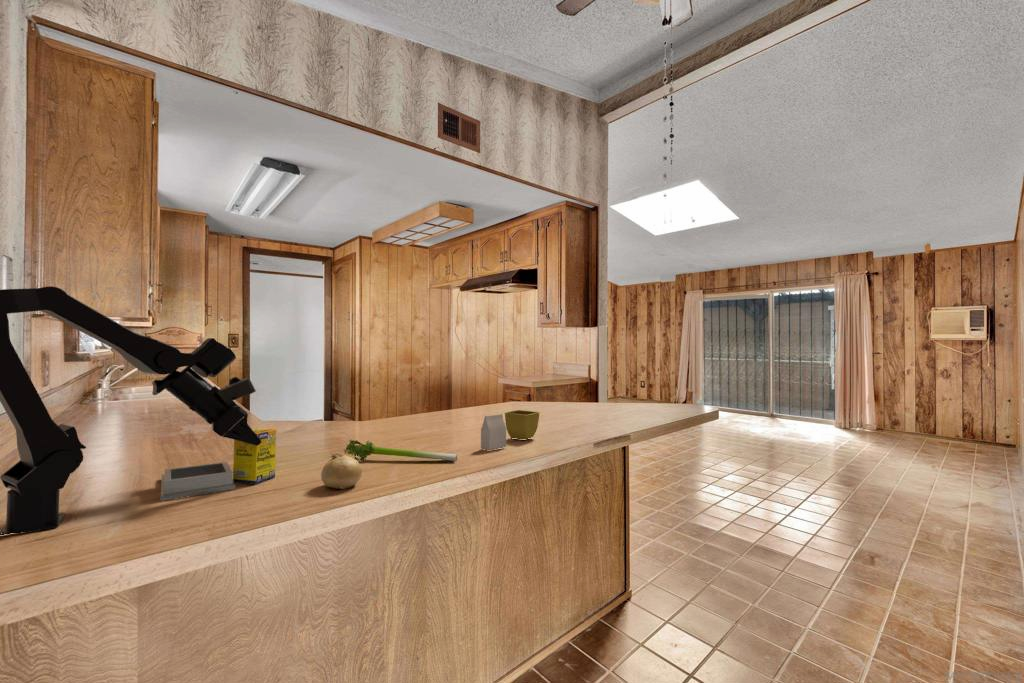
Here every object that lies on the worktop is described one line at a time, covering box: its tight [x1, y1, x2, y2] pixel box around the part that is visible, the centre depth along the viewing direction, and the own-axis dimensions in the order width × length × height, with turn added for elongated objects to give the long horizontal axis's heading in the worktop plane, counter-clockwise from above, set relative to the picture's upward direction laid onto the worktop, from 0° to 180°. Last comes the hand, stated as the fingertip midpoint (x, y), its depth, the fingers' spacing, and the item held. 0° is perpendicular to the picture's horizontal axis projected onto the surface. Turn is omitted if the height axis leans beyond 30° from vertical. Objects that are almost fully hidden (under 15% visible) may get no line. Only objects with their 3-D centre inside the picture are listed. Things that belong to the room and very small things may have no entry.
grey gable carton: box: [480, 413, 507, 451], centre depth 130 cm, size 4×7×10 cm, turn 135°
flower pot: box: [504, 409, 541, 439], centre depth 144 cm, size 9×9×9 cm
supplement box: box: [232, 427, 277, 485], centre depth 97 cm, size 6×6×11 cm
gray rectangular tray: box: [160, 461, 236, 502], centre depth 93 cm, size 18×12×4 cm, turn 38°
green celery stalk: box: [343, 438, 458, 462], centre depth 115 cm, size 6×7×30 cm
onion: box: [320, 452, 363, 490], centre depth 93 cm, size 8×8×7 cm
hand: (256, 440), depth 97 cm, fingers closed on supplement box, 8 cm apart
